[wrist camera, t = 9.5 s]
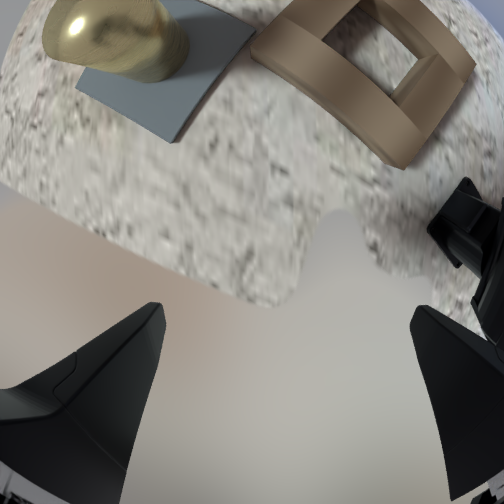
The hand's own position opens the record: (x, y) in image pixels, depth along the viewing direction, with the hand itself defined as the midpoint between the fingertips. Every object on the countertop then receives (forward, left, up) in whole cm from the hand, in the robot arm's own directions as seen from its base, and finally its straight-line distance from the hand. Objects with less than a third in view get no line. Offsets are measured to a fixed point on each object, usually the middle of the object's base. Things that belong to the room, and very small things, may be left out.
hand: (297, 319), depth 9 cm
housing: (+2, -14, -12) cm, 18 cm away
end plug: (+14, -5, -11) cm, 19 cm away
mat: (+14, -5, -12) cm, 19 cm away
